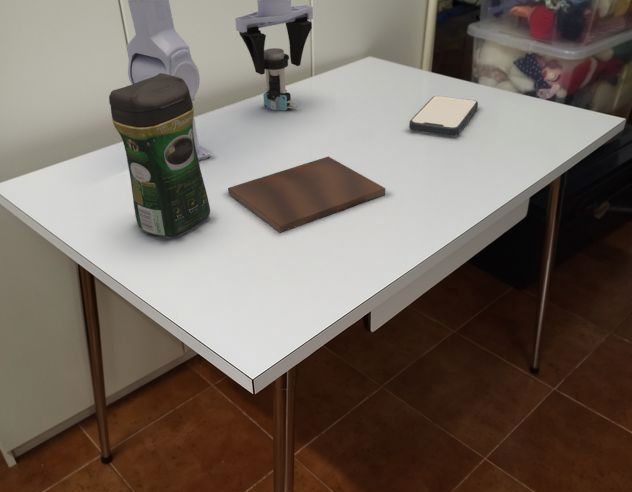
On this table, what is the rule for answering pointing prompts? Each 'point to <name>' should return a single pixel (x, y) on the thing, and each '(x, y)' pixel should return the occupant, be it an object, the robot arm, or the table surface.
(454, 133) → the phone case
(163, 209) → the coffee jar
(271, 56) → the push button
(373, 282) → the table surface
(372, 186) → the walnut board
